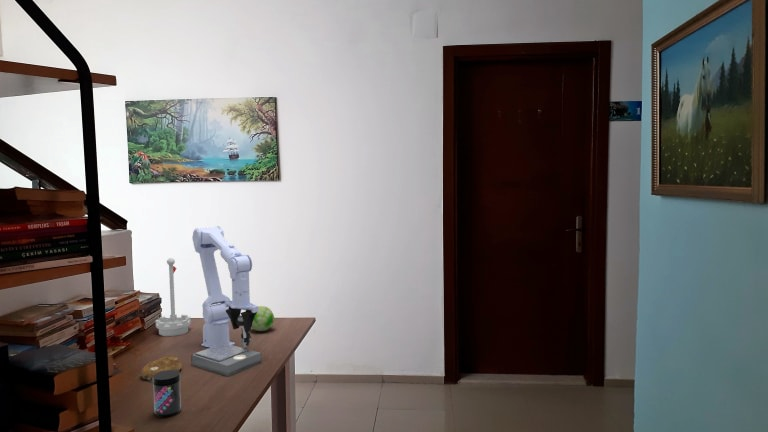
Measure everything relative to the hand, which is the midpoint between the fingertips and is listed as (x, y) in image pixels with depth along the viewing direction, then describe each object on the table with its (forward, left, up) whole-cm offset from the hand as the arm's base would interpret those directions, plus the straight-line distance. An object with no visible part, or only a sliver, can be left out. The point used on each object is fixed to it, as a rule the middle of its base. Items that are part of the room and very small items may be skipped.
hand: (241, 330), depth 181 cm
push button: (+1, +1, -6) cm, 6 cm away
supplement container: (+15, -39, -10) cm, 43 cm away
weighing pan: (-2, -7, -7) cm, 10 cm away
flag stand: (-46, +5, -10) cm, 48 cm away
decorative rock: (-11, -23, -10) cm, 28 cm away
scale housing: (0, -7, -10) cm, 12 cm away
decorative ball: (-17, +25, -10) cm, 32 cm away
